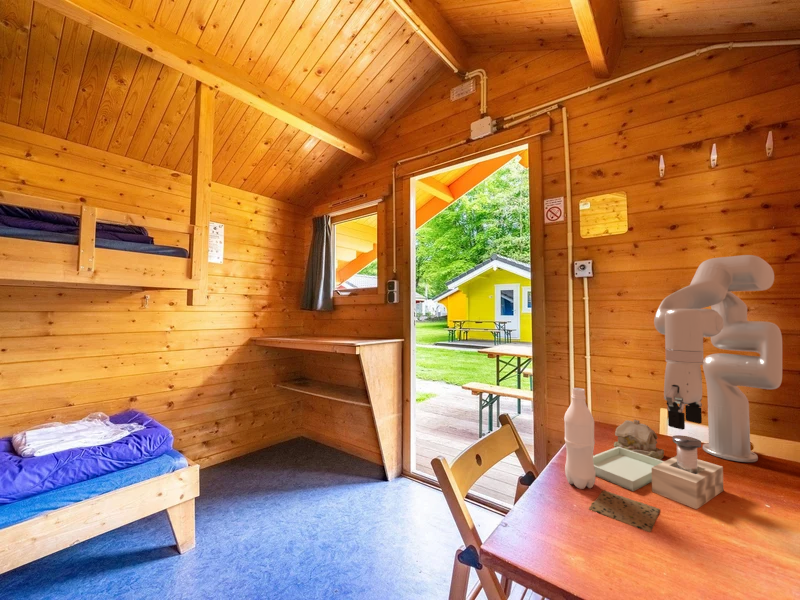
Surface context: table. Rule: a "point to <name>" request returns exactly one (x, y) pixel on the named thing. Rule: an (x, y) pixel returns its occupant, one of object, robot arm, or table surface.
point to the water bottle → (579, 442)
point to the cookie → (626, 510)
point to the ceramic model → (638, 439)
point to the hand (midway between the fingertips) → (685, 424)
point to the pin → (687, 453)
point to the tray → (625, 467)
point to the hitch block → (687, 482)
